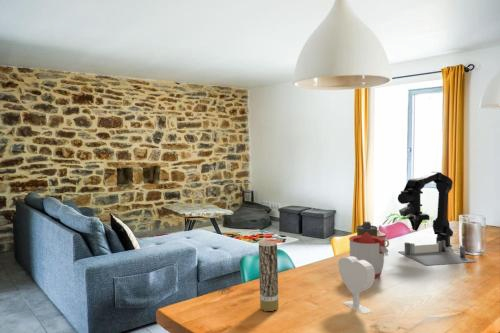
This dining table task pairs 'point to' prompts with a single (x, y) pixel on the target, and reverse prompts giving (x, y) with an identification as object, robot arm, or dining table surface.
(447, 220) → the robot arm
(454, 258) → the mat
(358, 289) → the heart sculpture
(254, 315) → the dining table surface
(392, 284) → the dining table surface
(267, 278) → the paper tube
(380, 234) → the teacup with lid
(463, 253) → the posts
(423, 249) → the cream rectangular bar
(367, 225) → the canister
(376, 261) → the citrus juicer
